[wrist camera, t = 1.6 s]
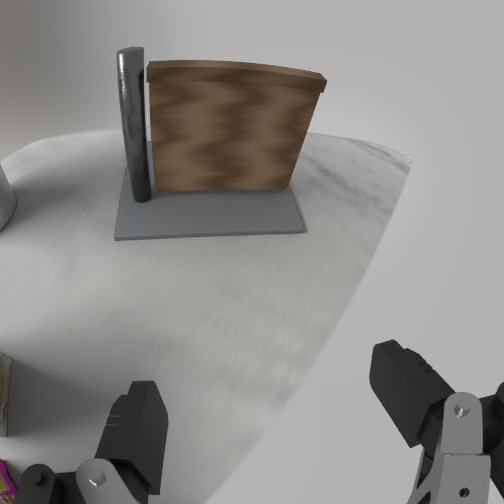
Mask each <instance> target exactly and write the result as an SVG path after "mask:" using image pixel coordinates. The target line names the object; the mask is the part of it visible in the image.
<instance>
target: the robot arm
mask: <svg viewBox="0 0 504 504" xmlns="http://www.w3.org/2000/svg"><path fill="white" fill-rule="evenodd" d="M15 206H16V196H15V194H14V192H13V190H12V188H11V186H10V184H9V182H8V180H7V178H6V175H5V173H4V171H3V169H2V167H1V164H0V230H1V229H2V228H3V227H4V226H5V225H6V223H7V222H8V221H9V219H10V218H11V216H12V214H13V212H14V210H15ZM369 378H370V384H371V387H372V390H373V391H374V393H375V394H376V396H377V397H378V399H379V400H380V402H381V403H382V405H383V407H384V408H385V409H386V411H387V413H388V414H389V416H390V417H391V419H392V420H393V422H394V424H395V425H396V427H397V428H398V430H399V431H400V433H401V434H402V436H403V438H404V439H405V441H406V442H407V444H408V446H409V447H410V448H412V447H414V446H416V445H419V444H421V445H422V446H423V450H422V453H421V457H420V462H419V467H418V471H417V475H416V479H415V483H414V487H413V490H412V494H411V496H410V498H409V500H408V502H407V504H487V502H488V494H489V483H490V478H491V479H492V481H493V483H494V484H495V486H496V487H497V489H498V491H499V492H500V494H501V496H502V497H503V499H504V382H503V383H502V384H501V385H500V386H499V388H498V390H497V392H496V394H494V395H491V396H487V397H483V398H479V399H478V398H477V397H475V396H474V395H472V394H470V393H466V392H458V393H456V392H455V391H454V390H453V389H452V388H451V387H450V386H449V385H448V384H447V383H446V382H445V381H444V379H443V378H442V377H441V376H440V375H439V374H438V373H437V372H436V371H435V370H433V369H432V367H431V366H430V365H429V364H428V363H426V361H425V360H424V359H423V358H422V357H421V356H420V355H419V354H418V353H416V352H414V351H412V350H410V349H408V348H406V349H403V348H402V347H401V346H400V345H399V344H398V343H397V341H395V340H389V341H386V342H383V343H380V344H376V345H375V346H374V348H373V354H372V361H371V368H370V375H369ZM167 429H168V414H167V410H166V407H165V405H164V403H163V401H162V398H161V396H160V393H159V391H158V389H157V386H156V384H155V382H154V381H133V382H132V383H131V386H130V389H129V392H128V395H121V396H120V397H119V398H118V399H117V400H116V401H115V403H114V404H113V406H112V408H111V411H110V414H109V417H108V419H107V422H106V426H105V428H104V431H103V434H102V437H101V440H100V443H99V446H98V449H97V452H96V455H95V457H94V459H91V460H88V461H86V462H84V463H83V464H82V465H81V466H80V467H79V468H78V470H77V471H76V472H67V473H54V472H53V471H52V470H51V469H50V468H49V467H48V466H46V465H44V464H34V465H32V466H30V467H28V468H27V469H26V470H25V472H24V473H23V476H22V478H21V481H20V484H19V487H18V490H17V493H16V496H15V499H14V502H13V504H148V495H149V494H151V495H160V485H161V476H162V467H163V459H164V451H165V444H166V436H167Z"/></svg>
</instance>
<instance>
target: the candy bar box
mask: <svg viewBox="0 0 504 504" xmlns="http://www.w3.org/2000/svg"><path fill="white" fill-rule="evenodd" d="M17 490H18V489H17V488H16V486H15V484H14V482H13V481H12V479H11V477H10V475H9V473H8V471H7V469H6V467H5V465H4V463H3V461H2V459H0V504H13V502H14V499H15V496H16V493H17Z"/></svg>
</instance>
